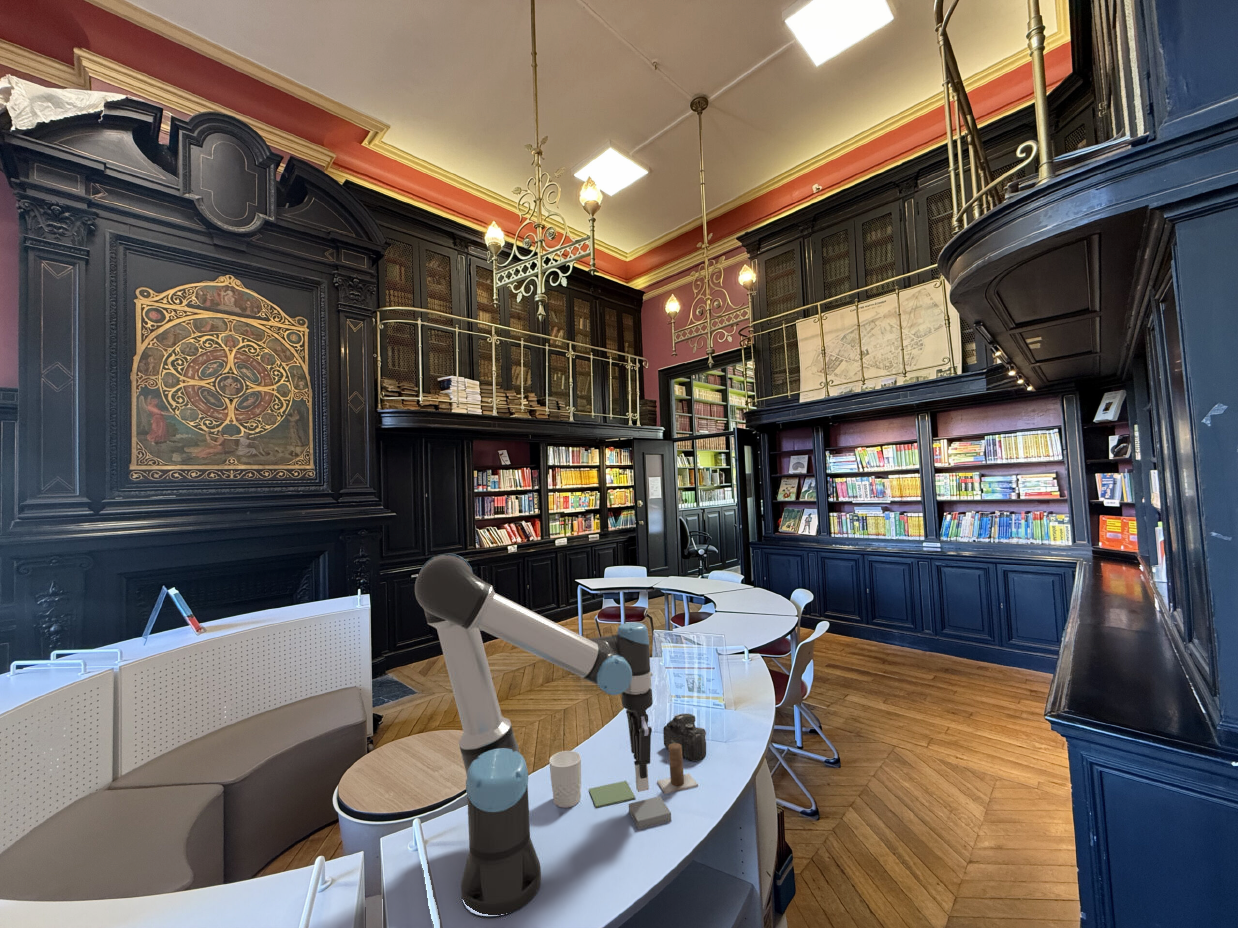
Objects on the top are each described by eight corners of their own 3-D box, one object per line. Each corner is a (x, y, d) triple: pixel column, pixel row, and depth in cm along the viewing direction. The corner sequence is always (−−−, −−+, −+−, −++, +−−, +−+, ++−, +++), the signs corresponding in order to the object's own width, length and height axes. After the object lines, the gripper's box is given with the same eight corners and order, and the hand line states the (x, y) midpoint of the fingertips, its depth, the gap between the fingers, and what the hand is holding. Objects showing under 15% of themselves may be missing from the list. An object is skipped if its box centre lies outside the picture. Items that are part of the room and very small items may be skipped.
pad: (596, 807, 122) (595, 806, 122) (589, 790, 130) (588, 788, 130) (635, 798, 125) (635, 797, 125) (626, 781, 133) (626, 780, 133)
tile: (629, 812, 120) (638, 830, 114) (628, 803, 120) (637, 820, 114) (660, 805, 123) (671, 822, 116) (659, 795, 123) (670, 812, 116)
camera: (713, 748, 148) (711, 713, 148) (699, 764, 139) (696, 727, 140) (673, 739, 155) (671, 705, 156) (657, 753, 147) (654, 718, 147)
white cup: (589, 797, 127) (587, 756, 127) (565, 813, 121) (563, 769, 122) (568, 787, 132) (566, 747, 133) (544, 801, 126) (542, 760, 127)
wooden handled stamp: (665, 794, 126) (662, 754, 127) (657, 782, 132) (655, 744, 132) (698, 786, 129) (695, 747, 130) (689, 775, 134) (686, 738, 135)
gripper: (660, 695, 119) (666, 800, 117) (642, 677, 131) (648, 772, 130) (629, 700, 117) (635, 807, 115) (614, 682, 129) (620, 778, 128)
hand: (642, 788), depth 122 cm, fingers closed
